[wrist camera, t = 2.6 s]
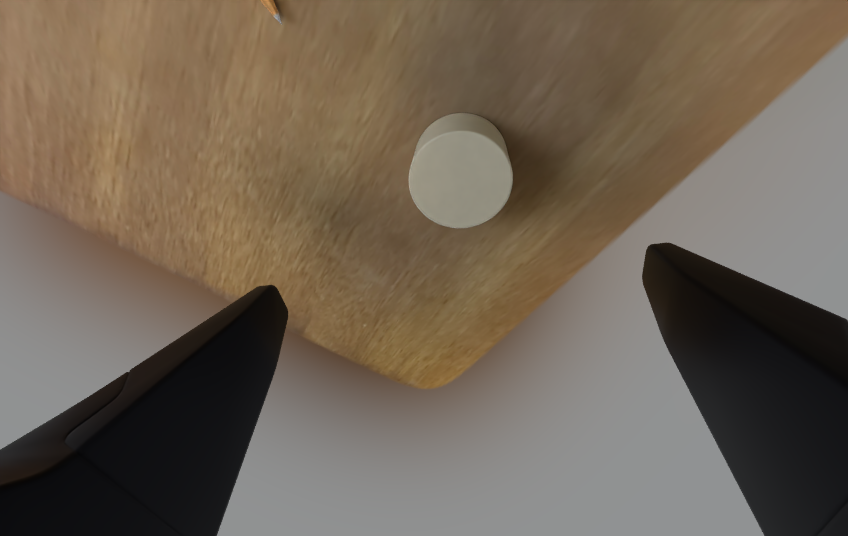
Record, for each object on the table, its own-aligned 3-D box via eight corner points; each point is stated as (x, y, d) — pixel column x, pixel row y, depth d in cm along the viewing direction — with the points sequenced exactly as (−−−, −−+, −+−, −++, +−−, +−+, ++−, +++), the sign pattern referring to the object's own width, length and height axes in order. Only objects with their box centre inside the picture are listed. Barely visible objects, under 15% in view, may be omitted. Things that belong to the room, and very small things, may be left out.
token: (503, 104, 16) (509, 121, 14) (510, 195, 18) (516, 222, 16) (406, 121, 16) (397, 140, 14) (424, 207, 19) (419, 234, 16)
